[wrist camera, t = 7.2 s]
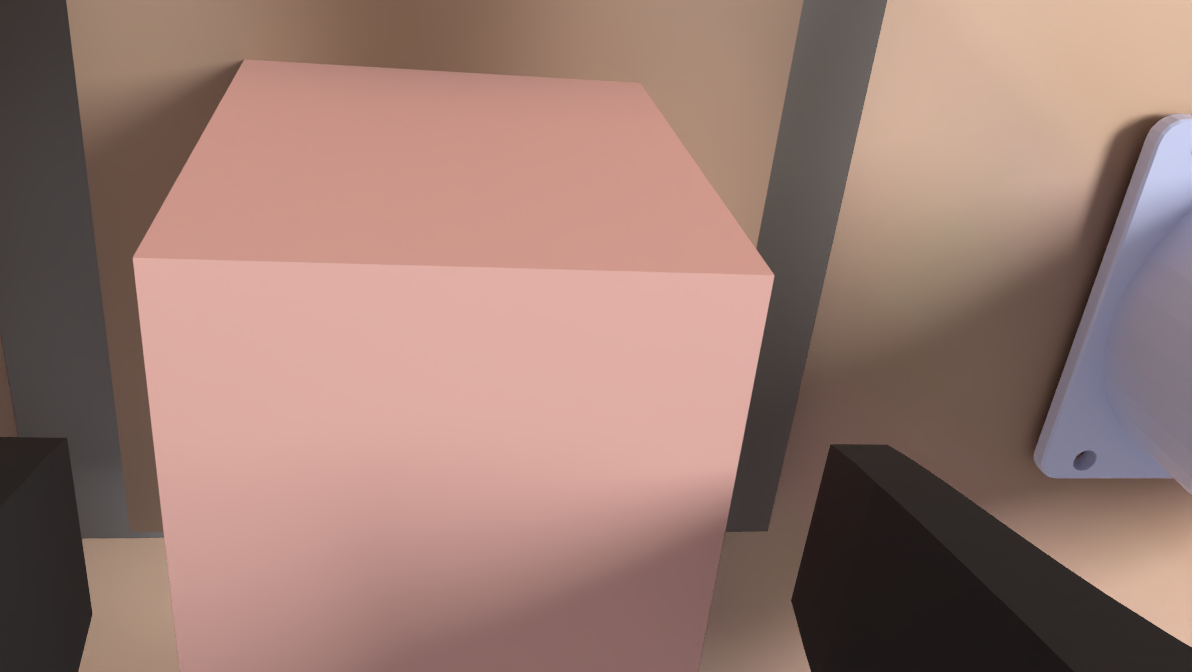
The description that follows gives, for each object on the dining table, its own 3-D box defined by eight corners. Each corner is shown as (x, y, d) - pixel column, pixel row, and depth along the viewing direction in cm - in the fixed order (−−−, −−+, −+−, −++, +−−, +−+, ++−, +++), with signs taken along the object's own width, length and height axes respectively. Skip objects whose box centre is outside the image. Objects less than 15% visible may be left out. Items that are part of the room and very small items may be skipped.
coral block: (640, 83, 14) (775, 275, 9) (602, 405, 16) (690, 710, 11) (244, 59, 13) (131, 256, 8) (263, 404, 15) (186, 734, 10)
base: (912, -234, 16) (1046, -233, 13) (753, 501, 23) (814, 635, 19) (-87, -364, 14) (-256, -405, 10) (51, 505, 20) (-23, 659, 17)
